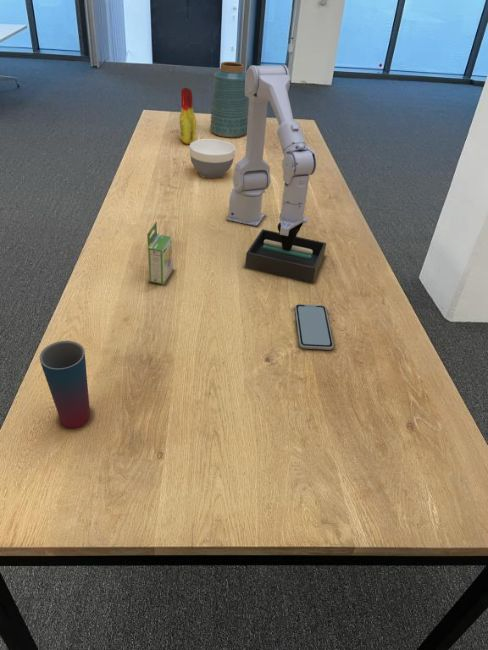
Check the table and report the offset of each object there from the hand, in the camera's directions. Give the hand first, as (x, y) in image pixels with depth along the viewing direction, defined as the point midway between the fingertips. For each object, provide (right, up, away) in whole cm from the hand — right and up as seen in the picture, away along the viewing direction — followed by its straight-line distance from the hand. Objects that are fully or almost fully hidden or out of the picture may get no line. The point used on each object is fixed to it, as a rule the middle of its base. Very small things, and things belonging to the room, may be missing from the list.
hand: (287, 247), depth 132 cm
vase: (-18, +63, +84) cm, 107 cm away
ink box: (-32, -8, -7) cm, 34 cm away
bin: (0, -3, +3) cm, 4 cm away
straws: (0, -1, +1) cm, 2 cm away
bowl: (-23, +34, +47) cm, 63 cm away
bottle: (-34, +55, +72) cm, 97 cm away
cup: (-41, -37, -43) cm, 70 cm away
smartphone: (+4, -21, -19) cm, 29 cm away
